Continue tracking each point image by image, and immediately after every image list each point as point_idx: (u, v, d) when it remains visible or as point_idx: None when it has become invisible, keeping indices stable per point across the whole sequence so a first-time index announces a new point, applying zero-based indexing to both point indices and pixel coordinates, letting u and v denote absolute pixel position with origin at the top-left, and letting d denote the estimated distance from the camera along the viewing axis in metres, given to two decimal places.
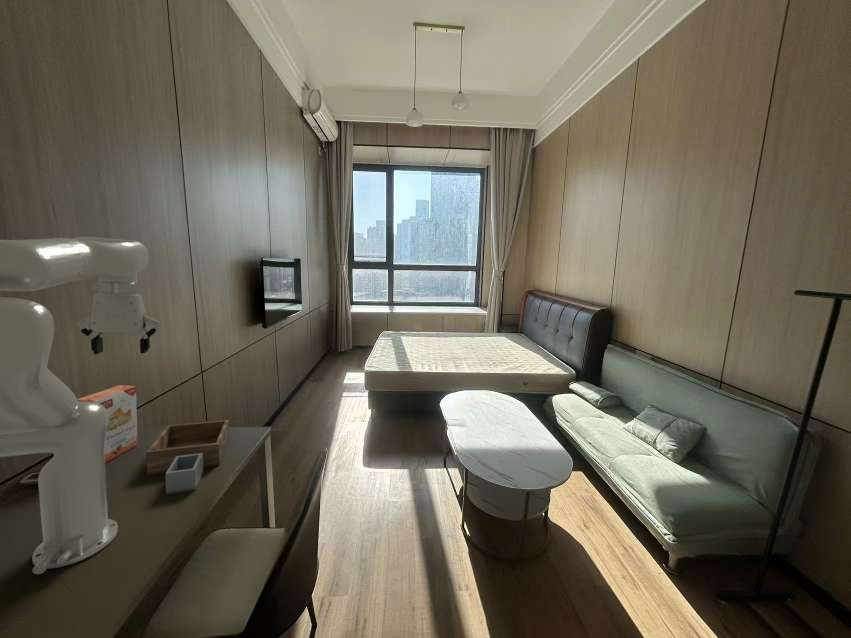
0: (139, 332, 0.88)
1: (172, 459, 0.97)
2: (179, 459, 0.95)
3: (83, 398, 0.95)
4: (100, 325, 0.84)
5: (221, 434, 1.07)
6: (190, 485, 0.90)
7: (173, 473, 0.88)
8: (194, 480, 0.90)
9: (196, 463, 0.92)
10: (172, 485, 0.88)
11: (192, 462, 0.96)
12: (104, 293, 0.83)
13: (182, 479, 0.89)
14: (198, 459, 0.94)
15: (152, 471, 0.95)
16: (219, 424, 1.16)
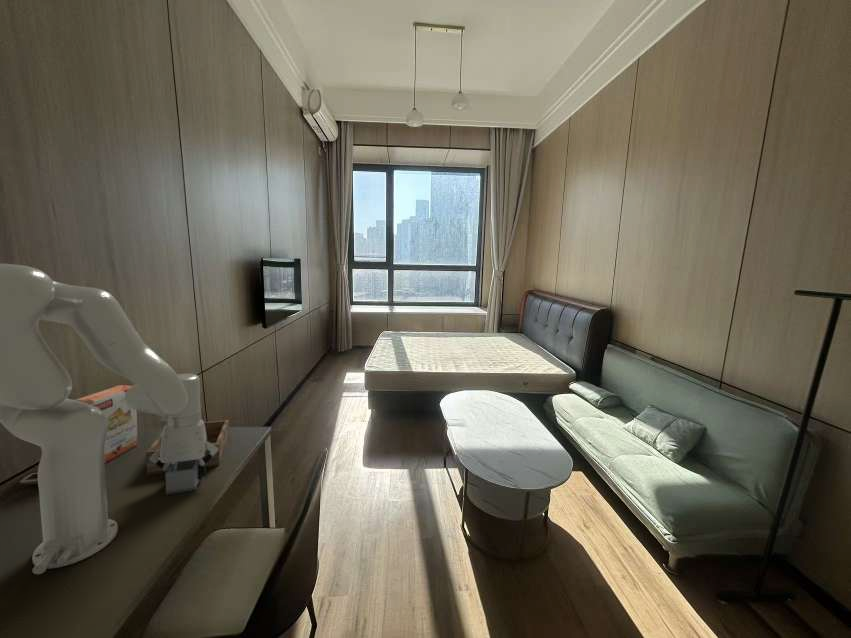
0: (198, 459, 0.92)
1: None
2: None
3: (83, 398, 0.95)
4: (168, 457, 0.88)
5: (221, 434, 1.07)
6: (190, 485, 0.89)
7: (173, 473, 0.88)
8: (194, 480, 0.90)
9: (196, 463, 0.92)
10: (172, 485, 0.88)
11: (192, 462, 0.96)
12: (173, 428, 0.87)
13: (182, 479, 0.89)
14: None
15: (152, 471, 0.95)
16: (219, 424, 1.16)
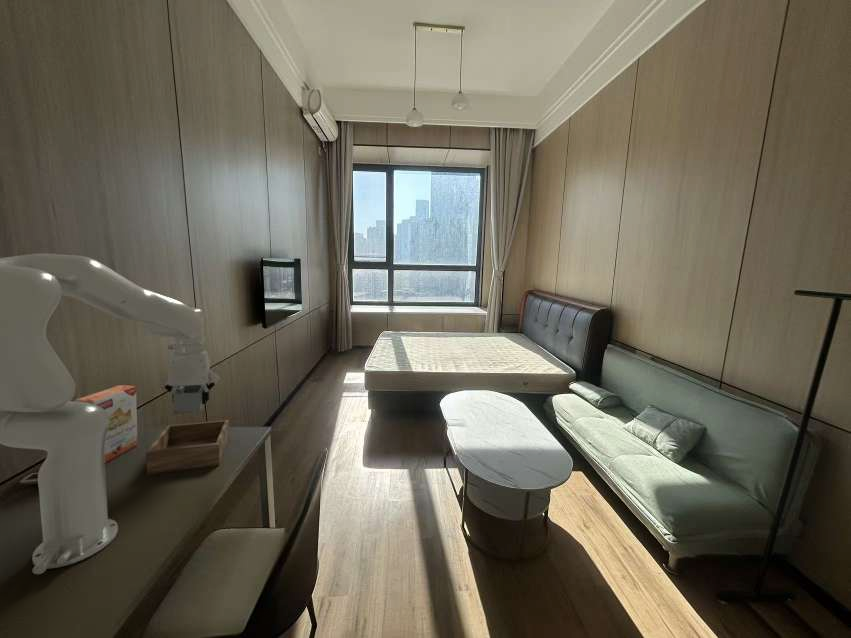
0: (203, 386, 1.02)
1: (172, 459, 0.97)
2: (185, 387, 1.05)
3: (83, 398, 0.95)
4: (175, 380, 0.98)
5: (221, 434, 1.07)
6: (195, 407, 0.99)
7: (180, 395, 0.98)
8: (199, 403, 1.00)
9: (200, 389, 1.02)
10: (179, 406, 0.98)
11: (197, 390, 1.06)
12: (179, 354, 0.97)
13: (188, 401, 0.99)
14: None
15: (152, 471, 0.95)
16: (219, 424, 1.16)
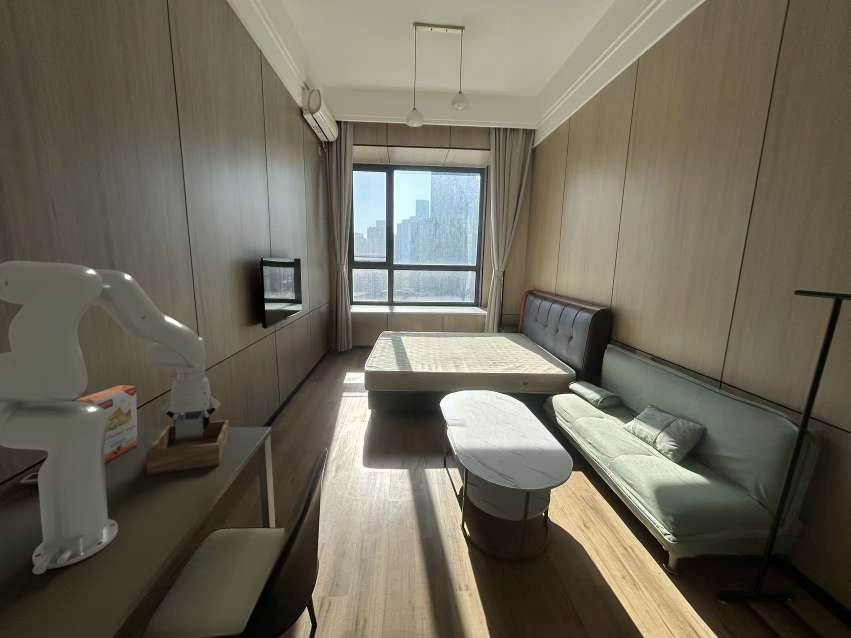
0: (203, 411, 1.05)
1: (172, 459, 0.97)
2: None
3: (83, 398, 0.95)
4: (177, 407, 1.01)
5: (221, 434, 1.07)
6: (196, 432, 1.03)
7: (182, 421, 1.01)
8: (200, 428, 1.03)
9: (201, 414, 1.05)
10: (181, 432, 1.01)
11: (198, 415, 1.09)
12: (181, 382, 1.00)
13: (189, 427, 1.02)
14: None
15: (152, 471, 0.95)
16: (219, 424, 1.16)
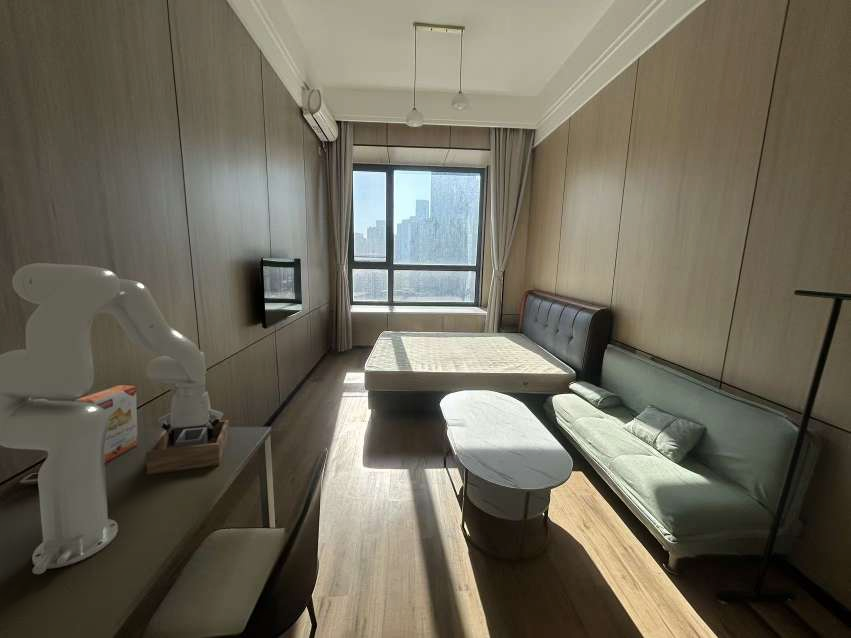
0: (206, 424, 1.06)
1: (172, 459, 0.97)
2: (186, 432, 1.08)
3: (83, 398, 0.95)
4: (177, 422, 1.02)
5: (221, 434, 1.07)
6: None
7: (182, 442, 1.01)
8: None
9: (201, 435, 1.06)
10: None
11: (198, 435, 1.10)
12: (181, 397, 1.01)
13: None
14: (203, 432, 1.08)
15: (152, 471, 0.95)
16: (219, 424, 1.16)
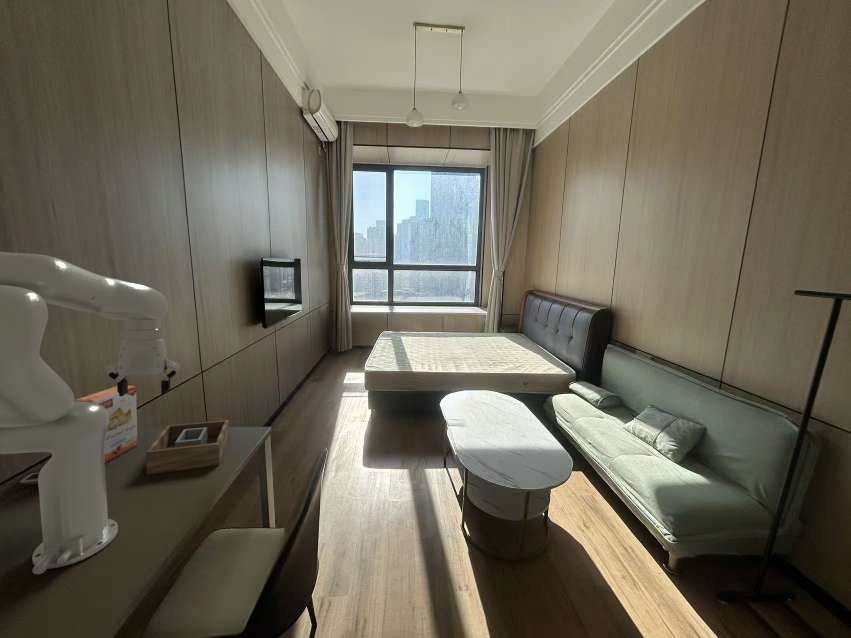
0: (161, 374, 0.94)
1: (172, 459, 0.97)
2: (186, 432, 1.08)
3: (83, 398, 0.95)
4: (126, 369, 0.90)
5: (221, 434, 1.07)
6: None
7: (182, 442, 1.01)
8: None
9: (201, 435, 1.06)
10: None
11: (198, 435, 1.10)
12: (130, 340, 0.89)
13: None
14: (203, 432, 1.08)
15: (152, 471, 0.95)
16: (219, 424, 1.16)
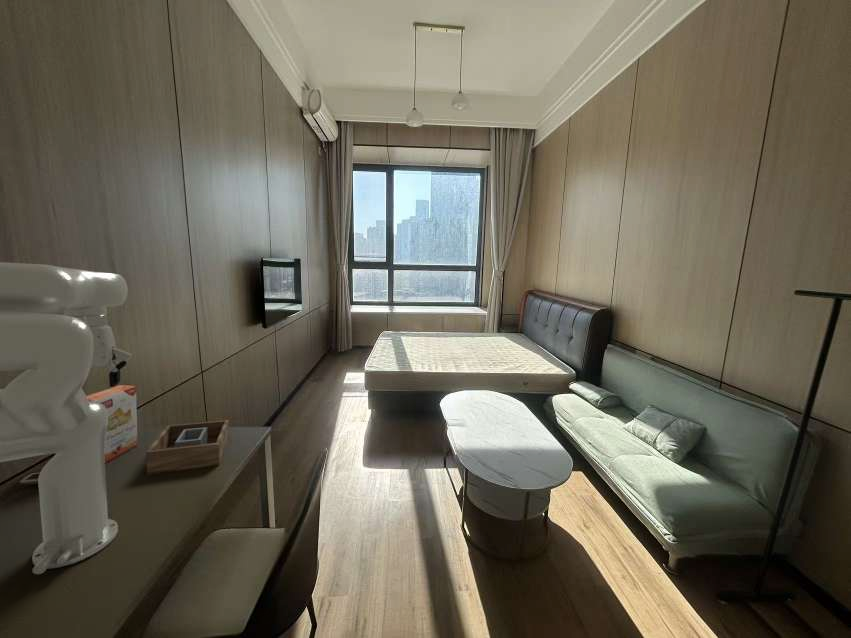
0: (108, 365, 0.85)
1: (172, 459, 0.97)
2: (186, 432, 1.08)
3: None
4: None
5: (221, 434, 1.07)
6: None
7: (182, 442, 1.01)
8: None
9: (201, 435, 1.06)
10: None
11: (198, 435, 1.10)
12: None
13: None
14: (203, 432, 1.08)
15: (152, 471, 0.95)
16: (219, 424, 1.16)
